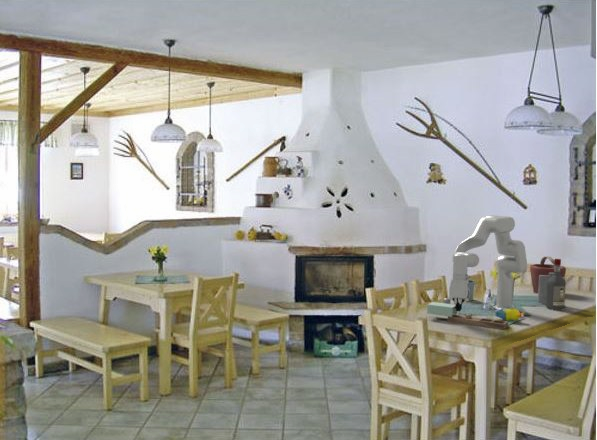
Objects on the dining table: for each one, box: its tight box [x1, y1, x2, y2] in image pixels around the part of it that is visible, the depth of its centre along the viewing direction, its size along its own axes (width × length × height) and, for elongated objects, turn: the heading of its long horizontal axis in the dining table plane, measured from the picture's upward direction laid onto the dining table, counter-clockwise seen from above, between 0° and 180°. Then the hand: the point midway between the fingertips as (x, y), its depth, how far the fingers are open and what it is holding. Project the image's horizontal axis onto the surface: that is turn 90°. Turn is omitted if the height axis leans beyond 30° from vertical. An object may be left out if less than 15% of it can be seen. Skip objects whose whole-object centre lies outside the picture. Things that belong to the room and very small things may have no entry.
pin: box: [442, 298, 451, 304], centre depth 389 cm, size 4×4×8 cm
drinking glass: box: [458, 279, 476, 302], centre depth 433 cm, size 10×10×12 cm
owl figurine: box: [494, 307, 527, 327], centre depth 372 cm, size 28×9×15 cm
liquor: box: [545, 258, 567, 311], centre depth 409 cm, size 9×9×30 cm
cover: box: [426, 301, 458, 317], centre depth 373 cm, size 9×14×5 cm, turn 59°
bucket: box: [529, 256, 567, 294], centre depth 464 cm, size 24×22×25 cm
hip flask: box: [537, 273, 566, 305], centre depth 422 cm, size 16×4×20 cm, turn 51°
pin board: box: [447, 313, 510, 330], centre depth 363 cm, size 9×30×4 cm, turn 59°
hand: (458, 310), depth 368 cm, fingers closed
